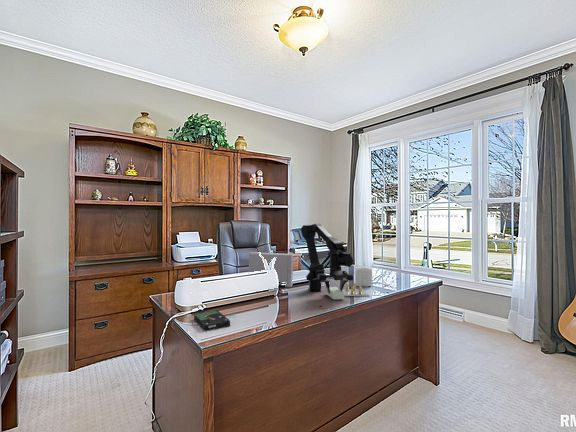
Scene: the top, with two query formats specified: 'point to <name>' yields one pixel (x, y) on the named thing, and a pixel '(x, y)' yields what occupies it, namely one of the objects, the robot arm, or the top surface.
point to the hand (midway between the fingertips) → (334, 292)
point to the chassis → (354, 291)
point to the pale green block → (335, 293)
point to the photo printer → (363, 276)
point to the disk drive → (211, 320)
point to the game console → (281, 265)
